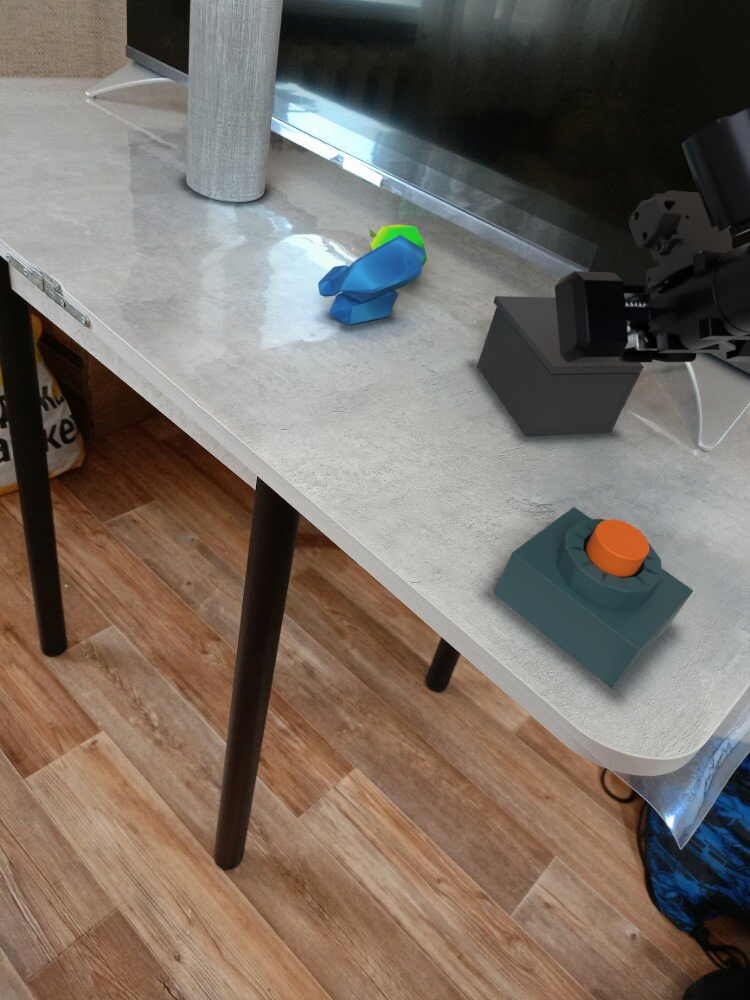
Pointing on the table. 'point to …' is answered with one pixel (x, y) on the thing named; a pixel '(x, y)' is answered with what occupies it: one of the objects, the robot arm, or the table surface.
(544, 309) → the lid
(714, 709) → the table surface
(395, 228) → the apple
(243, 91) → the grey fabric cylinder
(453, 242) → the table surface
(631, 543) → the button
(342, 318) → the crystal
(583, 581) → the control block
